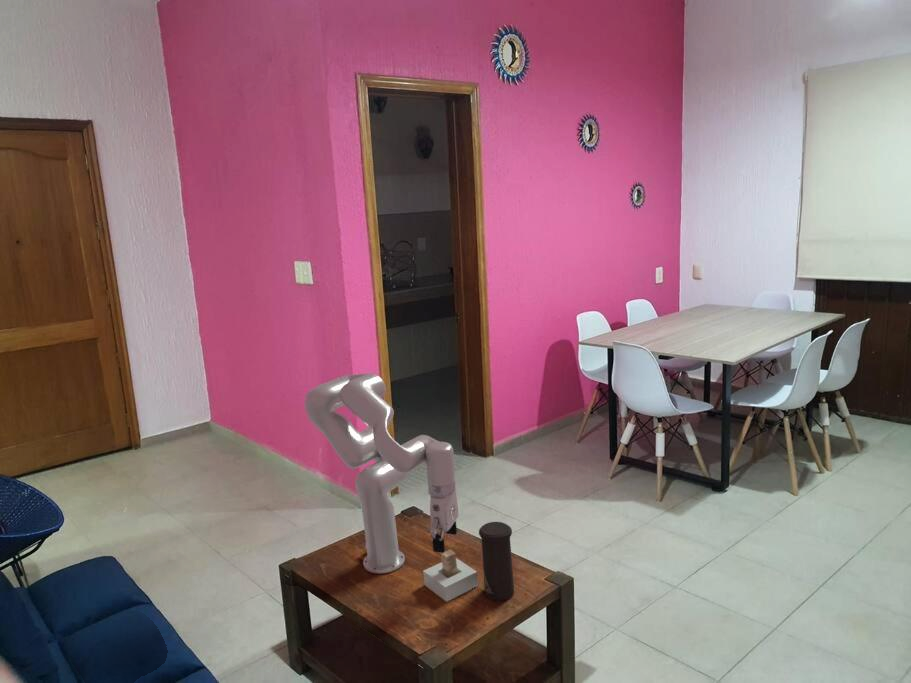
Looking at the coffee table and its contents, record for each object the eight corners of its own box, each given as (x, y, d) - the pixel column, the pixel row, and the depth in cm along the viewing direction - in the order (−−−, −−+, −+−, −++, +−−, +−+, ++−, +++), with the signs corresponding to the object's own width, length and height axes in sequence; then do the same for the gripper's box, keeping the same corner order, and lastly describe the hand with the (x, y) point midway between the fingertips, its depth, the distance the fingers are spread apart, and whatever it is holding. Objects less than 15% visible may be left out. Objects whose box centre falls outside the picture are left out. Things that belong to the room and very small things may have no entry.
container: (495, 579, 196) (490, 516, 191) (521, 589, 190) (517, 524, 185) (477, 595, 189) (472, 529, 185) (503, 605, 183) (499, 538, 179)
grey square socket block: (424, 584, 196) (423, 570, 195) (455, 570, 202) (454, 556, 201) (446, 601, 187) (445, 587, 186) (478, 585, 193) (477, 571, 192)
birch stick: (449, 585, 192) (446, 557, 190) (443, 581, 195) (441, 552, 193) (458, 582, 194) (455, 553, 192) (452, 577, 196) (450, 549, 194)
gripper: (443, 502, 179) (447, 561, 183) (464, 474, 194) (467, 528, 198) (416, 499, 181) (421, 557, 185) (440, 472, 197) (443, 525, 201)
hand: (445, 542), depth 192 cm, fingers open, 9 cm apart
